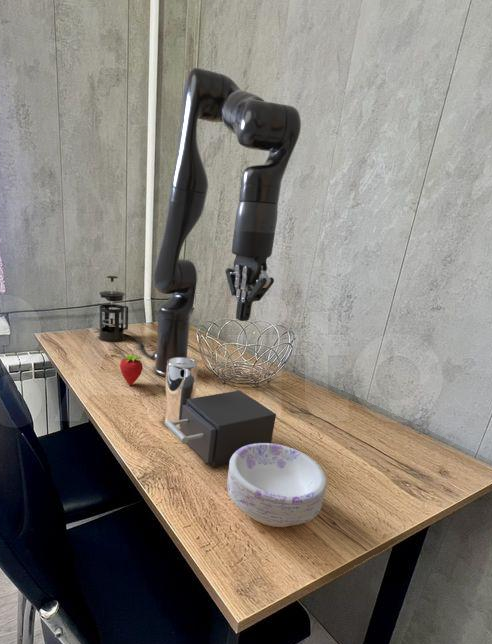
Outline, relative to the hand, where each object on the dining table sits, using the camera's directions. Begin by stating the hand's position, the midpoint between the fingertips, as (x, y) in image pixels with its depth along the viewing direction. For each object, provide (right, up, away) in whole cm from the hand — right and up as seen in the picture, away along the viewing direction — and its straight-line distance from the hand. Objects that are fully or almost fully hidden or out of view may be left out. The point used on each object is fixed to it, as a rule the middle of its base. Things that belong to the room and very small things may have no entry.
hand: (242, 319), depth 80 cm
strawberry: (-25, -15, +30) cm, 42 cm away
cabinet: (-3, -26, +4) cm, 26 cm away
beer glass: (-13, -23, +11) cm, 28 cm away
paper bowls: (+2, -33, -14) cm, 36 cm away
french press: (-36, +1, +70) cm, 79 cm away
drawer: (-6, -26, +2) cm, 27 cm away
